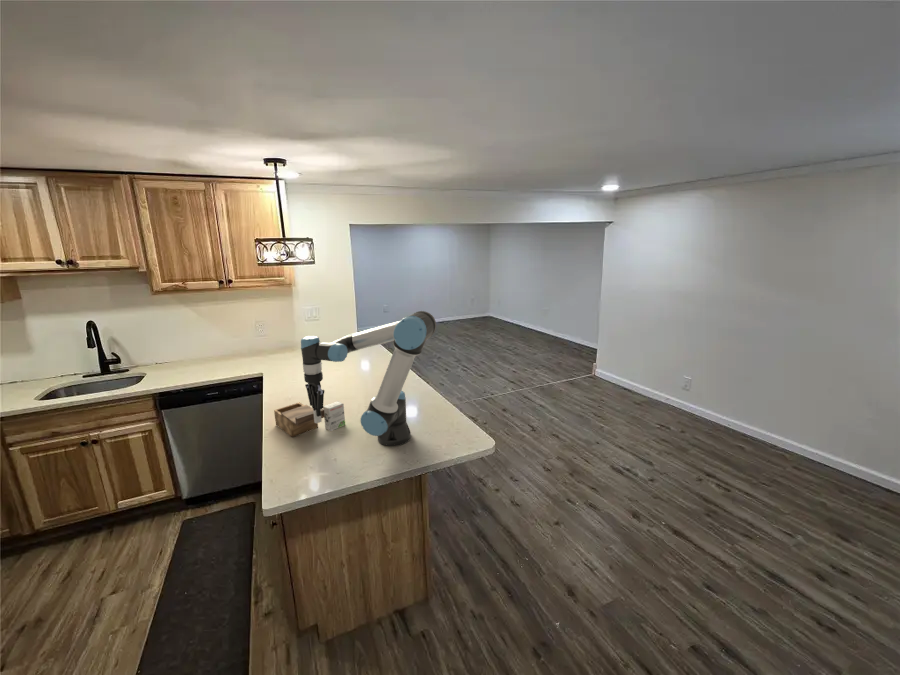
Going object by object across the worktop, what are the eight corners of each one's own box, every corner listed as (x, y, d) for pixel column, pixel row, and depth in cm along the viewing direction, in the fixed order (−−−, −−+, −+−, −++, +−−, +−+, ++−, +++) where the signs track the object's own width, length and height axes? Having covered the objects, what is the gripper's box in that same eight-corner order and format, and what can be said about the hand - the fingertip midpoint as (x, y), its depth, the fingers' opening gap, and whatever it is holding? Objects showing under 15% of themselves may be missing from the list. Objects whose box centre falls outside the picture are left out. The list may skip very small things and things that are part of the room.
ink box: (339, 422, 201) (338, 400, 198) (345, 425, 198) (343, 403, 195) (324, 428, 195) (322, 405, 192) (330, 431, 191) (328, 408, 188)
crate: (318, 427, 195) (316, 412, 193) (292, 437, 186) (290, 421, 184) (301, 416, 207) (299, 402, 205) (275, 425, 198) (274, 410, 196)
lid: (324, 417, 187) (324, 409, 187) (298, 426, 179) (297, 418, 178) (306, 406, 200) (305, 399, 199) (280, 414, 191) (279, 407, 190)
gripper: (328, 373, 170) (333, 423, 176) (313, 366, 179) (318, 414, 185) (312, 377, 165) (317, 429, 171) (297, 370, 174) (303, 420, 180)
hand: (318, 421), depth 178 cm, fingers closed
